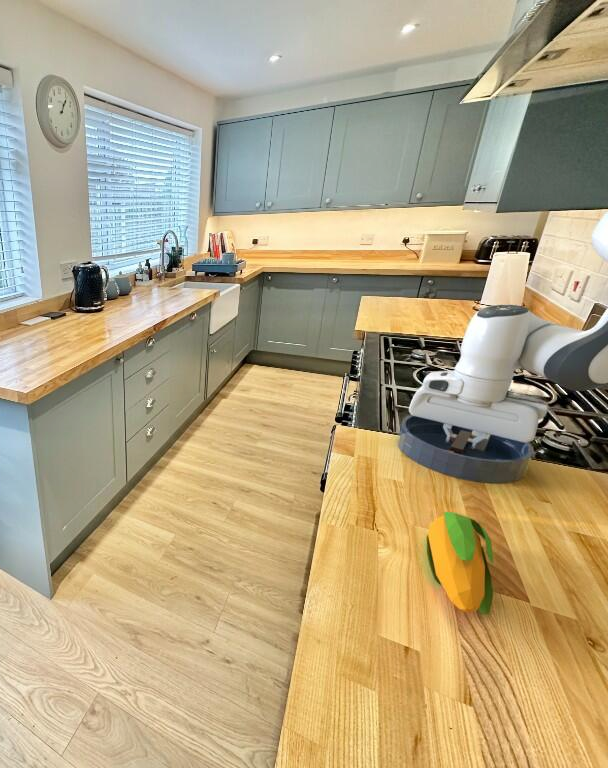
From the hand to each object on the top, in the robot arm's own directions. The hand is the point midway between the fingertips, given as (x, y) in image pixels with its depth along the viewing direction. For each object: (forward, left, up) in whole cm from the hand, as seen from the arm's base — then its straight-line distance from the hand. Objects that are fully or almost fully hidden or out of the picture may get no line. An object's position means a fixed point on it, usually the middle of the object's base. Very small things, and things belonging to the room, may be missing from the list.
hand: (459, 444), depth 90 cm
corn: (+15, +38, -3) cm, 41 cm away
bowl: (0, 0, -3) cm, 3 cm away
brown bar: (0, 0, -2) cm, 2 cm away
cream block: (-6, -5, -2) cm, 7 cm away
